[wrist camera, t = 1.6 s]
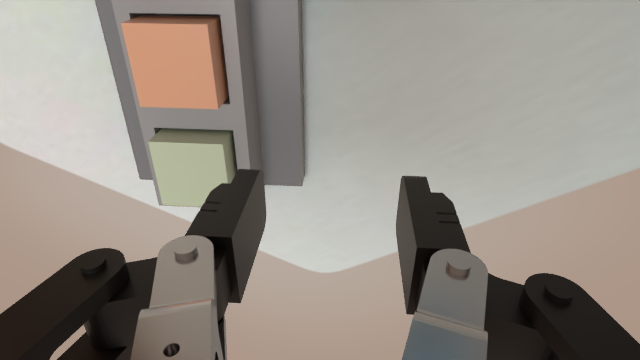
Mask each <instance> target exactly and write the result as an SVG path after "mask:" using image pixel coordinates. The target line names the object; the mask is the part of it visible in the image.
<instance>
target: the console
mask: <svg viewBox="0 0 640 360" xmlns="http://www.w3.org/2000/svg"><path fill="white" fill-rule="evenodd" d="M95 2H96V6H97V10H98V14H99V18H100V22H101V26H102V30H103V34H104V38H105V42H106V46H107V50H108V54H109V58H110V62H111V66H112V70H113V74H114V78H115V82H116V86H117V90H118V94H119V98H120V102H121V106H122V109H123V113H124V117H125V121H126V125H127V129H128V133H129V137H130V141H131V145H132V149H133V153H134V157H135V161H136V165H137V169H138V173H139V177H140V179H145V180H153V181H154V185H155V190H156V194H157V198H158V203H159V205H162V200H161V196H160V192H159V187H158V183H157V178H156V174H155V170H154V165H153V161H152V157H151V152H150V148H149V143H148V141H149V140H150V139H151V138H152V137H153V136H154V135H156V134H157V133H158V132H159V131H160V130H161V129H162V128H179V129H208V130H233V134H234V143H235V152H236V160H237V169H255V170H262V172H263V177H264V185H285V186H302V185H303V180H304V176H305V168H304V116H303V64H302V12H301V0H95ZM141 15H173V16H220V19H221V27H222V36H223V45H224V54H225V63H226V72H227V81H228V89H229V97H228V98H227V99H226V100H225V101H224V103H223V104H222V105H221V106H220V108H219V109H192V108H160V107H140V104H139V100H138V95H137V91H136V87H135V82H134V78H133V74H132V69H131V65H130V60H129V56H128V52H127V47H126V43H125V39H124V34H123V30H122V25H121V23H122V22H125V21H128V20H131V19H133V18H136V17H139V16H141ZM165 206H174V205H165ZM186 207H195V206H186Z"/></svg>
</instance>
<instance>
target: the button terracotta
mask: <svg viewBox="0 0 640 360" xmlns="http://www.w3.org/2000/svg"><path fill="white" fill-rule="evenodd" d="M121 25H122V30H123V34H124V39H125V43H126V47H127V52H128V56H129V60H130V65H131V69H132V74H133V78H134V82H135V87H136V91H137V95H138V100H139V104H140V107H160V108H192V109H219V108H220V106H221V105H222V104H223V103H224V101H225V100H226V99H227V98H228V97H229V89H228V81H227V72H226V63H225V54H224V45H223V36H222V27H221V19H220V16H173V15H141V16H139V17H136V18H133V19H131V20H128V21H125V22H122V23H121Z"/></svg>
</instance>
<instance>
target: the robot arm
mask: <svg viewBox="0 0 640 360" xmlns="http://www.w3.org/2000/svg"><path fill="white" fill-rule="evenodd" d="M265 222H266V203H265V190H264V177H263V172H262V170H255V169H238V171H237V172H236V174H235V176H234V178H233V180H232V182H231V183H221V184H220V185H219V186H217V187H216V188H214V189H213V190H212V191H210V193H209V195H208V197H207V198H206V200H205V203H204V204H203V205H202V207H201V209H200V211H199V212H198V214H197V216H196V217H195V219H194V221H193V223H192V224H191V226H190V228H189V230H188V231H187V233H186V235H185V236H183V237H179V238H176V239H174V240H172V241H170V242H168V243H167V244H166V245H164V246H163V247H162V248H161V250H160V251H159V253H158V257H156V258H152V259H146V260H140V261H134V262H129V263H126V261H125V258H124V255H123V254H122V253H121V252H120V251H118V250H115V249H110V248H102V249H96V250H92V251H89V252H86V253H84V254H82V255H80V256H78V257H76V258H75V259H73V260H72V261H71V262H69V263H68V264H67V265H65V266H64V267H63V268H61V269H60V270H59V271H57V272H56V273H55V274H53V275H52V276H51V277H50V278H48V279H47V280H45V281H44V282H43V283H41V284H40V285H39V286H37V287H36V288H35V289H33V290H32V291H31V292H29V293H28V294H27V295H25V296H24V297H23V298H21V299H20V300H19V301H17V302H16V303H15V304H13V305H12V306H11V307H9V308H8V309H7V310H5V311H4V312H3V313H1V314H0V360H49V359H50V357H51V355H52V354H53V353H54V351H55V350H56V349H57V348H58V347H59V346H60V345H62V344H63V343H64V341H66V340H67V339H68V338H69V337H70V336H71V335H72V334H73V333H74V332H76V331H77V330H78V329H79V328H80V327H81V326H82V325H83V324H84V327H85V329H86V333H85V334H84V335H82V337H80V338H79V339H78V340H77V341H76V342H75V343H74V344H73V345H72V346H71V347H70V348H69V349H68V350H67V351H65V352H64V353H63V354H62V355H61V356H60V357H59V358H58V359H57V360H227V345H226V322H225V315H224V313H225V311H226V308H227V305H228V302H230V303H241V300H242V297H243V294H244V291H245V287H246V284H247V281H248V278H249V275H250V272H251V268H252V266H253V262H254V259H255V256H256V253H257V250H258V247H259V244H260V241H261V238H262V234H263V231H264V228H265ZM396 236H397V244H398V252H399V259H400V267H401V275H402V283H403V290H404V298H405V306H406V313H407V314H413V315H414V317H413V320H412V324H411V327H410V331H409V335H408V339H407V342H406V346H405V350H404V354H403V357H402V360H640V344H639V343H638V342H637V341H636V340H635V339H634V338H633V337H632V336H631V335H630V334H629V333H628V332H627V331H626V330H624V328H623V327H622V326H620V325H619V324H618V323H617V322H616V321H615V320H614V319H613V318H612V317H611V316H610V315H609V314H608V313H607V312H606V311H605V310H604V309H603V308H602V307H601V306H600V305H599V304H598V303H597V302H596V301H595V300H594V299H593V298H592V297H591V296H590V295H589V294H587V292H586V291H584V290H583V289H582V288H581V287H580V286H579V285H577V284H575V283H574V282H572V281H570V280H568V279H566V278H564V277H561V276H558V275H554V274H548V273H542V274H541V273H540V274H535V275H532V276H530V277H529V278H528V279H527V280H526V282H525V285H521V284H517V283H514V282H511V281H507V280H503V279H500V278H497V277H495V276H493V275H491V274H489V273H488V270H487V268H486V265H485V264H484V263H483V262H482V261H481V260H480V259H479V258H478V257H476V256H475V255H473V254H471V252H470V249H469V247H468V244H467V241H466V238H465V235H464V233H463V230H462V227H461V224H460V221H459V219H458V216H457V215H456V210H455V207H454V205H453V202H452V201H451V200H450V199H448V198H447V197H446V196H445V195H444V194H443V193H431V192H430V188H429V185H428V181H427V178H426V177H419V176H402V178H401V184H400V193H399V201H398V210H397V219H396Z"/></svg>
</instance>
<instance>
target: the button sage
mask: <svg viewBox="0 0 640 360" xmlns="http://www.w3.org/2000/svg"><path fill="white" fill-rule="evenodd" d="M148 143H149V148H150V152H151V157H152V161H153V165H154V170H155V174H156V178H157V183H158V187H159V192H160V196H161V200H162V205H174V206H195V207H202V205H203V204H204V203H205V200H206V198H207V197H208V195H209V193H210V191H212V190H213V189H214V188H216V187H217V186H219V185H220V184H221V183H231V182H232V180H233V178H234V176H235V174H236V172H237V171H238V169H237V160H236V152H235V143H234V134H233V130H208V129H179V128H162V129H161V130H160V131H159V132H158V133H157V134H156V135H154V136H153V137H152V138H151V139H150V140H149V141H148Z"/></svg>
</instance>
